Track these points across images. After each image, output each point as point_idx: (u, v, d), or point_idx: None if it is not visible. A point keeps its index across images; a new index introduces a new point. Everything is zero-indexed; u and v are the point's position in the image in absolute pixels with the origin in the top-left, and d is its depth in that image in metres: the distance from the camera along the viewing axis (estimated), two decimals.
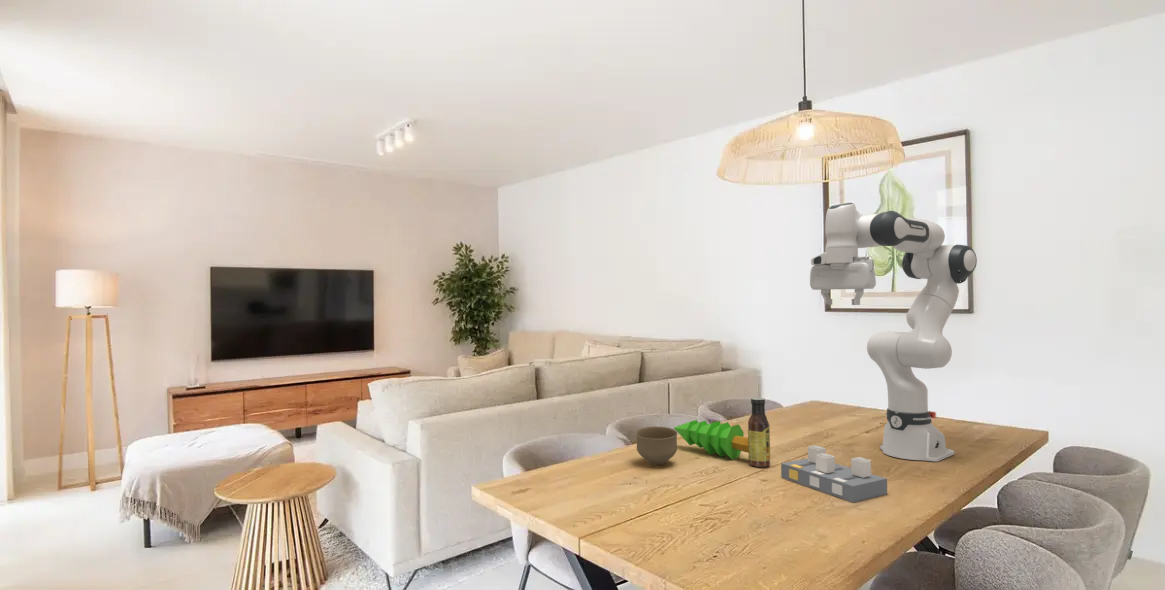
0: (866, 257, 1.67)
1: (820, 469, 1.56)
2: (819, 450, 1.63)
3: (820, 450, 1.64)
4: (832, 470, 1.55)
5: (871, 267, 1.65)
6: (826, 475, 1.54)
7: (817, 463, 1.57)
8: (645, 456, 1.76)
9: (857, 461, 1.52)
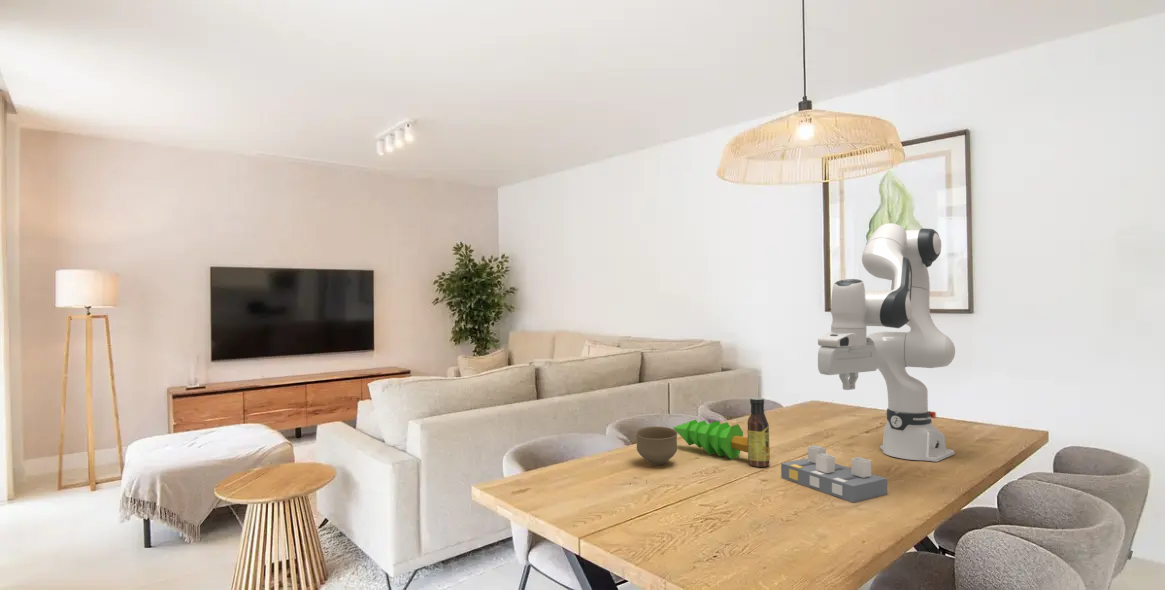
0: (870, 339, 1.65)
1: (820, 469, 1.56)
2: (819, 450, 1.63)
3: (820, 450, 1.64)
4: (832, 470, 1.55)
5: None
6: (826, 475, 1.54)
7: (817, 463, 1.57)
8: (645, 456, 1.76)
9: (857, 461, 1.52)
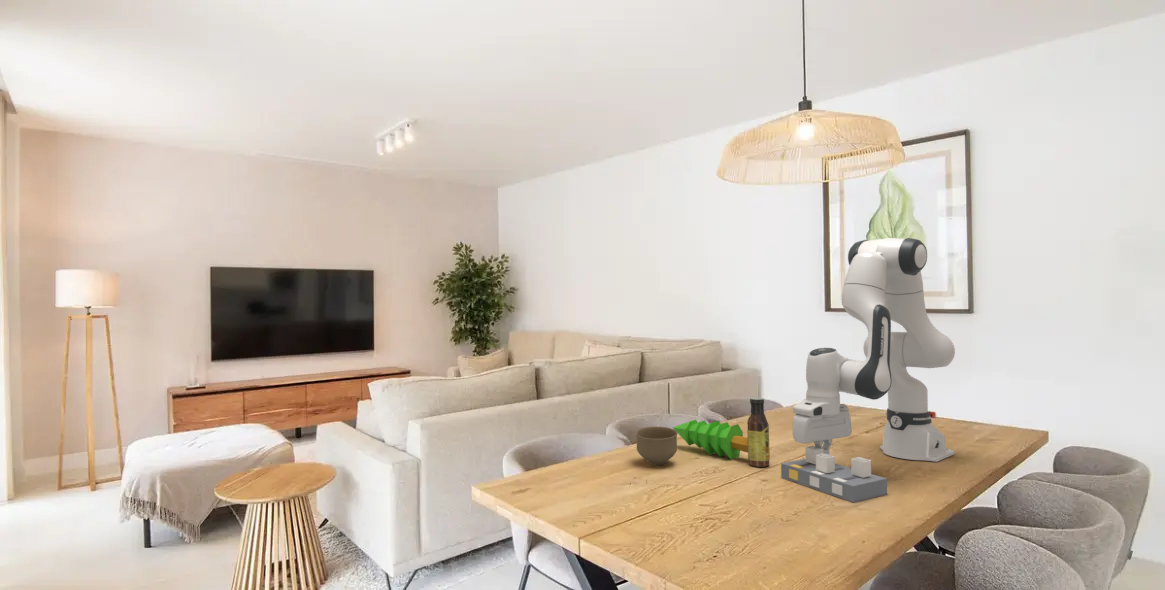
0: (844, 405, 1.70)
1: (820, 469, 1.56)
2: (817, 450, 1.63)
3: (818, 450, 1.63)
4: (832, 470, 1.55)
5: None
6: (826, 475, 1.54)
7: (817, 463, 1.57)
8: (645, 456, 1.76)
9: (857, 461, 1.52)
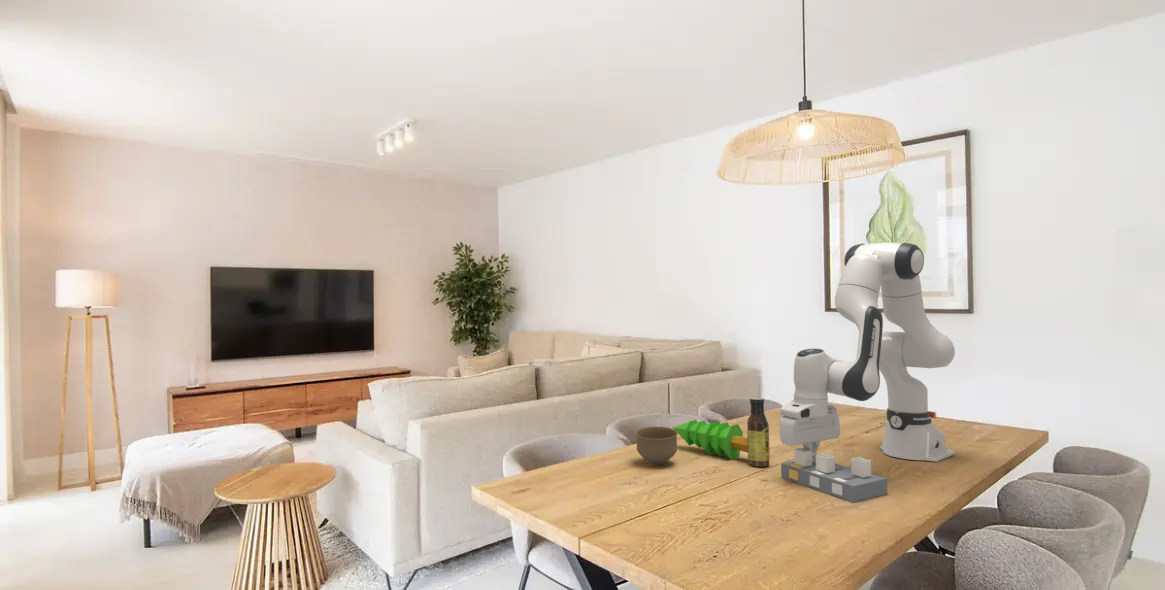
0: (832, 406, 1.68)
1: (820, 469, 1.56)
2: (805, 452, 1.61)
3: (806, 452, 1.61)
4: (832, 470, 1.55)
5: None
6: (826, 475, 1.54)
7: (817, 463, 1.57)
8: (645, 456, 1.76)
9: (857, 461, 1.52)
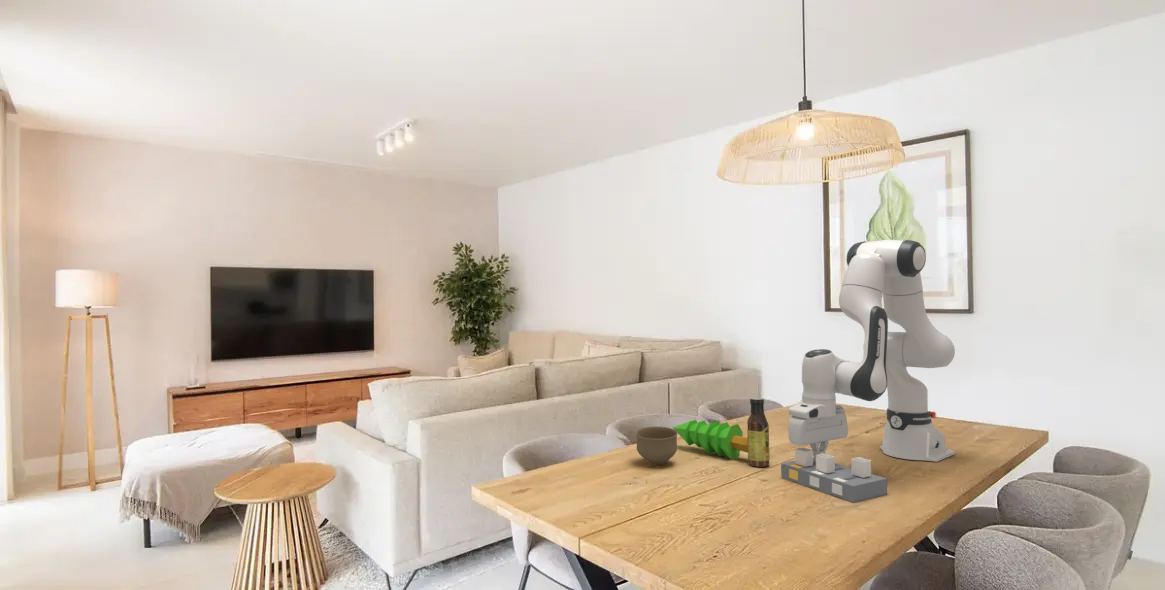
0: (840, 406, 1.70)
1: (820, 469, 1.56)
2: (806, 452, 1.61)
3: (807, 452, 1.61)
4: (832, 470, 1.55)
5: None
6: (826, 475, 1.54)
7: (817, 463, 1.57)
8: (645, 456, 1.76)
9: (857, 461, 1.52)
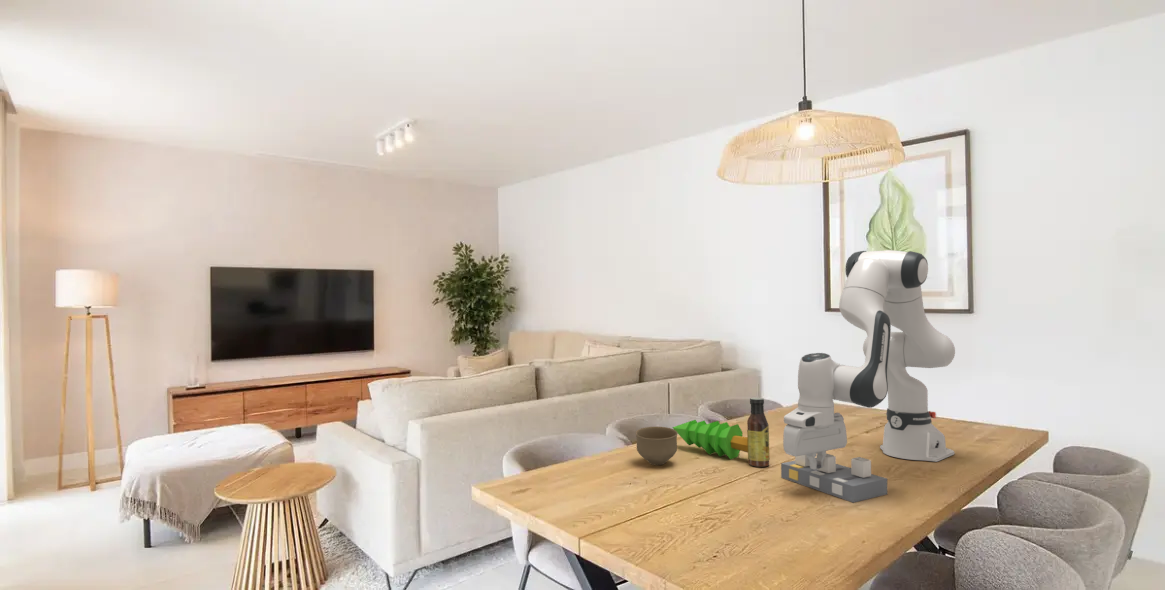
0: (839, 414, 1.59)
1: (821, 469, 1.56)
2: None
3: None
4: (833, 470, 1.56)
5: None
6: (826, 475, 1.54)
7: None
8: (645, 456, 1.76)
9: (857, 461, 1.52)
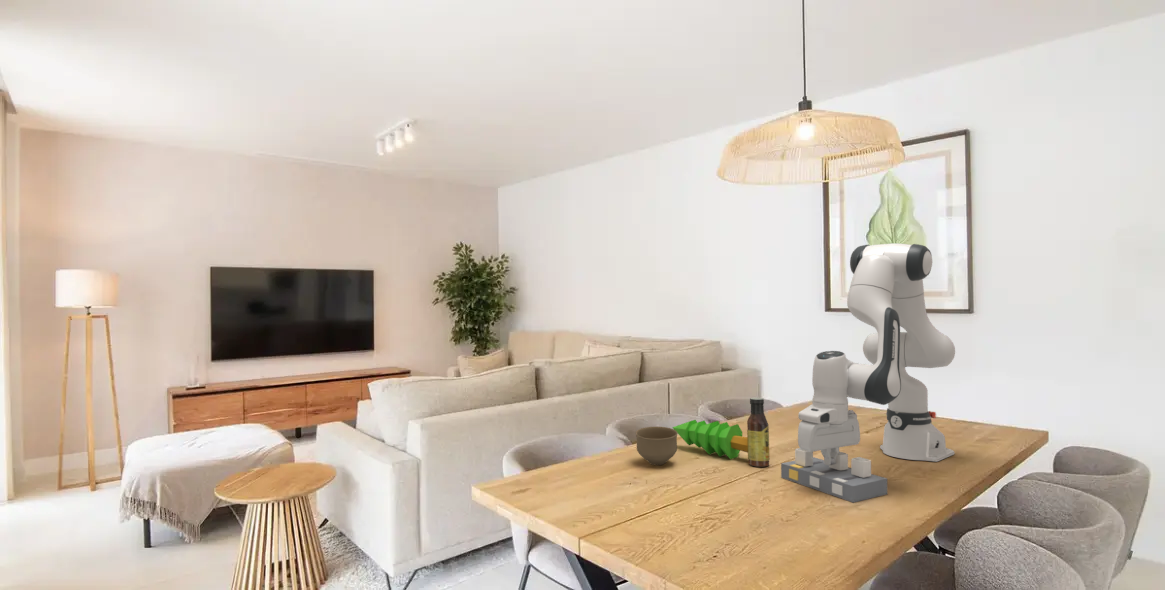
0: (852, 411, 1.62)
1: (833, 466, 1.59)
2: (806, 452, 1.61)
3: (807, 452, 1.61)
4: (845, 467, 1.58)
5: None
6: (826, 475, 1.54)
7: None
8: (645, 456, 1.76)
9: (857, 461, 1.52)
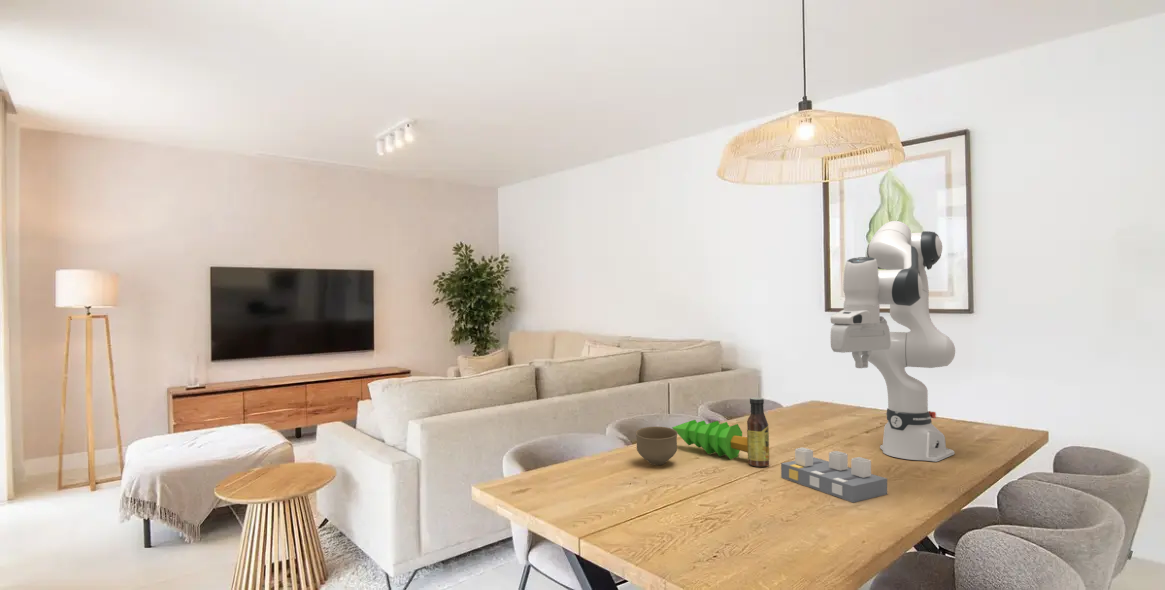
0: (882, 317, 1.64)
1: (833, 466, 1.59)
2: (806, 452, 1.61)
3: (807, 452, 1.61)
4: (845, 467, 1.58)
5: None
6: (826, 475, 1.54)
7: (830, 460, 1.60)
8: (645, 456, 1.76)
9: (857, 461, 1.52)
